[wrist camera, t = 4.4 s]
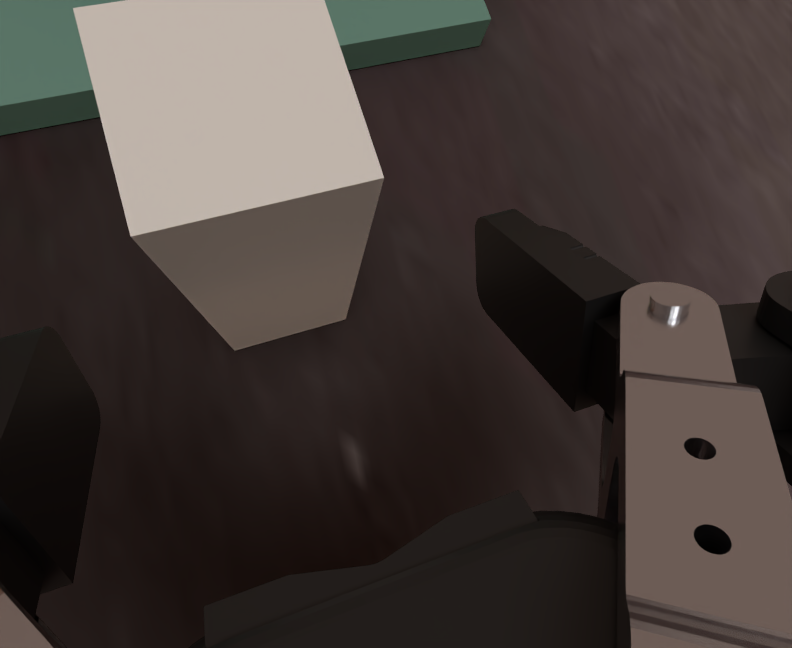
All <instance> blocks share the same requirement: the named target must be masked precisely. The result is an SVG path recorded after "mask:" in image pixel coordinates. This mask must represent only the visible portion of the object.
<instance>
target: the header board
mask: <svg viewBox="0 0 792 648" xmlns="http://www.w3.org/2000/svg"><path fill="white" fill-rule="evenodd" d="M118 1H124V0H0V136H1V135H6V134H11V133H17V132H22V131H27V130H33V129H38V128H43V127H49V126H54V125H59V124H65V123H70V122H75V121H81V120H86V119H91V118H97V117H100V113H99V109H98V105H97V102H96V98H95V94H94V90H93V86H92V82H91V78H90V74H89V70H88V66H87V62H86V58H85V54H84V50H83V46H82V42H81V38H80V34H79V30H78V26H77V22H76V18H75V15H74V11H73V8H77V7H84V6H90V5H97V4H104V3H111V2H118ZM325 3H326V6H327V9H328V12H329V15H330V18H331V21H332V24H333V27H334V30H335V33H336V36H337V39H338V42H339V45H340V48H341V51H342V54H343V57H344V60H345V63H346V66H347V69H348V70H353V69H358V68H364V67H369V66H374V65H380V64H385V63H390V62H396V61H401V60H406V59H412V58H417V57H422V56H428V55H433V54H438V53H444V52H449V51H454V50H460V49H465V48H470V47H476V46H480V44H481V42H482V39H483V37H484V35H485V32H486V30H487V28H488V25H489V23H490V21H491V17H490V15H489V12H488V10H487V7H486V4H485V2H484V0H325Z"/></svg>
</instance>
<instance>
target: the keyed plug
mask: <svg viewBox="0 0 792 648" xmlns="http://www.w3.org/2000/svg"><path fill="white" fill-rule="evenodd" d="M73 11H74V15H75V18H76V22H77V26H78V30H79V34H80V38H81V42H82V46H83V50H84V54H85V58H86V62H87V66H88V70H89V74H90V78H91V82H92V86H93V90H94V94H95V98H96V102H97V105H98V109H99V113H100V117H101V121H102V125H103V129H104V133H105V137H106V141H107V145H108V149H109V153H110V157H111V161H112V165H113V169H114V173H115V177H116V181H117V185H118V189H119V192H120V196H121V200H122V204H123V208H124V212H125V216H126V220H127V224H128V228H129V232H130V236H131V238H132V239H133V240H134V241H135V242H136V243H137V244H138V245H139V246H140V247H141V249H142V250H143V251H144V252H145V253H146V254H147V255H148V256H149V257H150V258H151V259H152V261H153V262H154V263H155V264H156V265H157V266H158V267H159V268H160V269H161V270H162V272H163V273H164V274H165V275H166V276H167V277H168V278H169V279H170V280H171V281H172V283H173V284H174V285H175V286H176V287H177V288H178V289H179V290H180V291H181V292H182V294H183V295H184V296H185V297H186V298H187V299H188V300H189V301H190V302H191V303H192V304H193V306H194V307H195V308H196V309H197V310H198V311H199V312H200V313H201V314H202V315H203V317H204V318H205V319H206V320H207V321H208V322H209V323H210V324H211V325H212V326H213V328H214V329H215V330H216V331H217V332H218V333H219V334H220V335H221V336H222V337H223V338H224V340H225V341H226V342H227V343H228V344H229V345H230V346H231V347H232V348H233V349H234V351H236V350H239V349H243V348H246V347H250V346H253V345H257V344H260V343H264V342H267V341H271V340H274V339H278V338H281V337H285V336H289V335H292V334H296V333H299V332H303V331H306V330H310V329H313V328H317V327H320V326H324V325H327V324H331V323H334V322H338V321H342V320H345V319H346V316H347V312H348V309H349V305H350V301H351V298H352V294H353V290H354V287H355V283H356V279H357V276H358V272H359V268H360V265H361V261H362V257H363V253H364V250H365V246H366V242H367V239H368V235H369V231H370V228H371V224H372V220H373V217H374V213H375V209H376V206H377V202H378V198H379V195H380V191H381V187H382V184H383V180H384V176H383V173H382V170H381V167H380V164H379V161H378V158H377V155H376V152H375V149H374V146H373V143H372V140H371V137H370V135H369V132H368V129H367V126H366V123H365V120H364V117H363V114H362V111H361V108H360V105H359V102H358V99H357V96H356V93H355V90H354V87H353V84H352V81H351V78H350V75H349V72H348V69H347V66H346V63H345V60H344V57H343V54H342V51H341V48H340V45H339V42H338V39H337V36H336V33H335V30H334V27H333V24H332V21H331V18H330V15H329V12H328V9H327V6H326V3H325V0H124V1H118V2H111V3H104V4H97V5H90V6H84V7H77V8H73Z"/></svg>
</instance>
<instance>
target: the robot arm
mask: <svg viewBox="0 0 792 648" xmlns="http://www.w3.org/2000/svg"><path fill="white" fill-rule="evenodd" d="M475 250H476V283H477V292H478V296H479V299H480V302H481V304H482V307H483V309H484V310H485V312H486V313H487V314H488V316H489V317H490V318H491V319H492V320H493V321H494V322H495V323H496V325H497V326H498V327H499V328H500V329H501V330H502V331H503V332H504V334H505V335H506V336H507V337H508V338H509V339H510V340H511V341H512V343H513V344H514V345H515V346H516V347H517V348H518V349H519V350H520V352H521V353H522V354H523V355H524V356H525V357H526V358H527V359H528V361H529V362H530V363H531V364H532V365H533V366H534V367H535V368H536V370H537V371H538V372H539V373H540V374H541V375H542V376H543V377H544V379H545V380H546V381H547V382H548V383H549V384H550V385H551V386H552V388H553V389H554V390H555V391H556V392H557V393H558V394H559V395H560V397H561V398H562V399H563V400H564V401H565V402H566V403H567V404H568V406H569V407H570V408H571V409H572V410H573V411H574V412H575V411H578V410H581V409H584V408H587V407H590V406H593V405H596V404H599V405H600V406H601V407H602V408H603V409H604V413H603V420H602V432H601V454H600V476H599V498H598V513H597V517H595V516H590V515H585V514H581V513H573V512H564V511H536V512H532V510H531V509H530V507H529V506H528V504H527V503H526V501H525V500H524V498H523V497H522V495H521V493H520V492H519V490H517V491H514V492H512V493H509V494H506V495H504V496H501V497H498V498H495V499H493V500H490V501H487V502H485V503H482V504H479V505H476V506H474V507H471V508H468V509H466V510H463V511H460V512H458V513H455V514H452V515H449V516H447V517H446V518H444V519H443V520H441V521H440V522H438V523H437V524H435V525H434V526H433V527H431V528H430V529H428V530H427V531H425V532H424V533H422V534H421V535H419V536H418V537H416V538H415V539H413V540H412V541H410V542H409V543H408V544H406V545H405V546H403V547H402V548H400V549H399V550H397V551H396V552H394V553H393V554H391V555H390V556H388V557H387V558H385V559H384V560H382V561H380V562H378V563H376V564H372V565H367V566H359V567H351V568H342V569H334V570H326V571H318V572H310V573H301V574H293V575H287V576H284V577H282V578H279V579H276V580H274V581H271V582H268V583H265V584H263V585H260V586H257V587H255V588H252V589H249V590H247V591H244V592H241V593H238V594H236V595H233V596H230V597H228V598H225V599H222V600H220V601H217V602H214V603H211V604H209V605H206V606H204V629H205V636H204V637H203V638H201V639H200V640H198V641H197V642H195V643H194V644H192V645H191V646H190V647H189V648H792V500H791V496H790V493H789V489H788V486H787V482H788V483H789V484H790V485H791V486H792V271H788V272H783V273H779V274H776V275H774V276H773V277H771V278H770V279H769V280H768V281H767V283H766V285H765V288H764V291H763V294H762V297H761V300H760V302H758V303H745V304H732V305H719V306H718V305H717V303H716V302H715V301H714V300H713V299H712V298H711V297H710V296H708V295H707V294H705V293H704V292H702V291H700V290H698V289H695V288H692V287H690V286H686V285H682V284H677V283H670V282H650V283H643V284H640V283H638V282H637V281H635V280H634V279H633V278H631V277H630V276H628V275H627V274H625V273H624V272H622V271H621V270H619V269H618V268H616V267H615V266H614V265H612V264H611V263H609V262H608V261H606V260H605V259H603V258H602V257H600V256H599V257H597V255H596V253H595V252H593V251H592V250H590V249H589V248H587V247H583V244H582V243H580V242H579V241H577V240H576V239H574V238H573V237H571V236H570V235H568V234H567V233H565V232H561V231H558V230H555V229H552V228H549V227H546V226H539V225H537V224H536V223H534V222H533V221H532V220H530V219H529V218H527V217H526V216H525V215H523V214H522V213H520V212H519V211H518V210H516V209H511V210H507V211H503V212H499V213H495V214H491V215H487V216H483V217H480V218H478V220H477V222H476V225H475ZM99 430H100V412H99V407H98V404H97V401H96V398H95V396H94V393H93V392H92V390H91V388H90V386H89V385H88V383H87V381H86V380H85V378H84V376H83V374H82V373H81V371H80V369H79V368H78V366H77V364H76V363H75V361H74V359H73V357H72V356H71V354H70V352H69V351H68V349H67V347H66V346H65V344H64V342H63V341H62V339H61V337H60V336H59V334H58V333H57V332H56V331H55V330H54V329H53V328H51V327H43V328H39V329H35V330H31V331H27V332H23V333H19V334H15V335H12V336H8V337H4V338H0V648H67V647H66V646H65V645H64V644H63V642H62V641H61V640H60V639H59V638H58V637H57V636H56V635H55V634H54V633H53V632H52V631H51V629H50V628H49V627H48V626H47V625H46V624H45V623H44V622H43V621H42V620H41V619H40V618H39V617H38V616H37V615H36V609H37V605H38V600H39V596H40V594H42V593H45V592H48V591H51V590H54V589H57V588H60V587H63V586H66V585H69V584H71V583H73V580H74V574H75V568H76V562H77V557H78V551H79V545H80V539H81V534H82V528H83V522H84V516H85V511H86V505H87V499H88V493H89V488H90V482H91V476H92V470H93V465H94V459H95V453H96V447H97V442H98V436H99ZM786 481H787V482H786Z"/></svg>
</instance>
